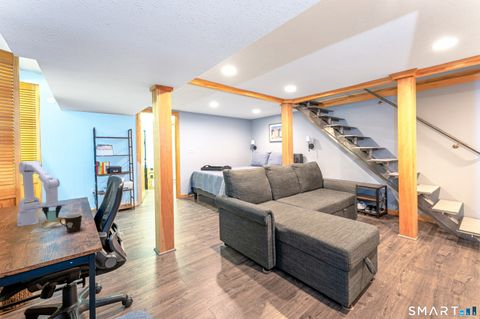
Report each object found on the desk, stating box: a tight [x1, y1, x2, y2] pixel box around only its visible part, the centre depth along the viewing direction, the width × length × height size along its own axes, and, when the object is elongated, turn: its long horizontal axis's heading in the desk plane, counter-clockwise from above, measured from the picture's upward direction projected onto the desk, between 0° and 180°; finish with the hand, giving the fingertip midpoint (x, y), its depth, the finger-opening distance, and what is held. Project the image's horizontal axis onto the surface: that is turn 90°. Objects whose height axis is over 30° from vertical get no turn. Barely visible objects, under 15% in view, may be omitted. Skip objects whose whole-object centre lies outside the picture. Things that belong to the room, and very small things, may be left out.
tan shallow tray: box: [41, 215, 66, 228], centre depth 142 cm, size 13×11×4 cm
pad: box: [29, 226, 54, 234], centre depth 131 cm, size 9×9×1 cm
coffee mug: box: [60, 213, 83, 234], centre depth 130 cm, size 12×9×10 cm
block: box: [47, 209, 57, 222], centre depth 134 cm, size 4×4×6 cm
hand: (52, 218), depth 134 cm, fingers closed on block, 4 cm apart
